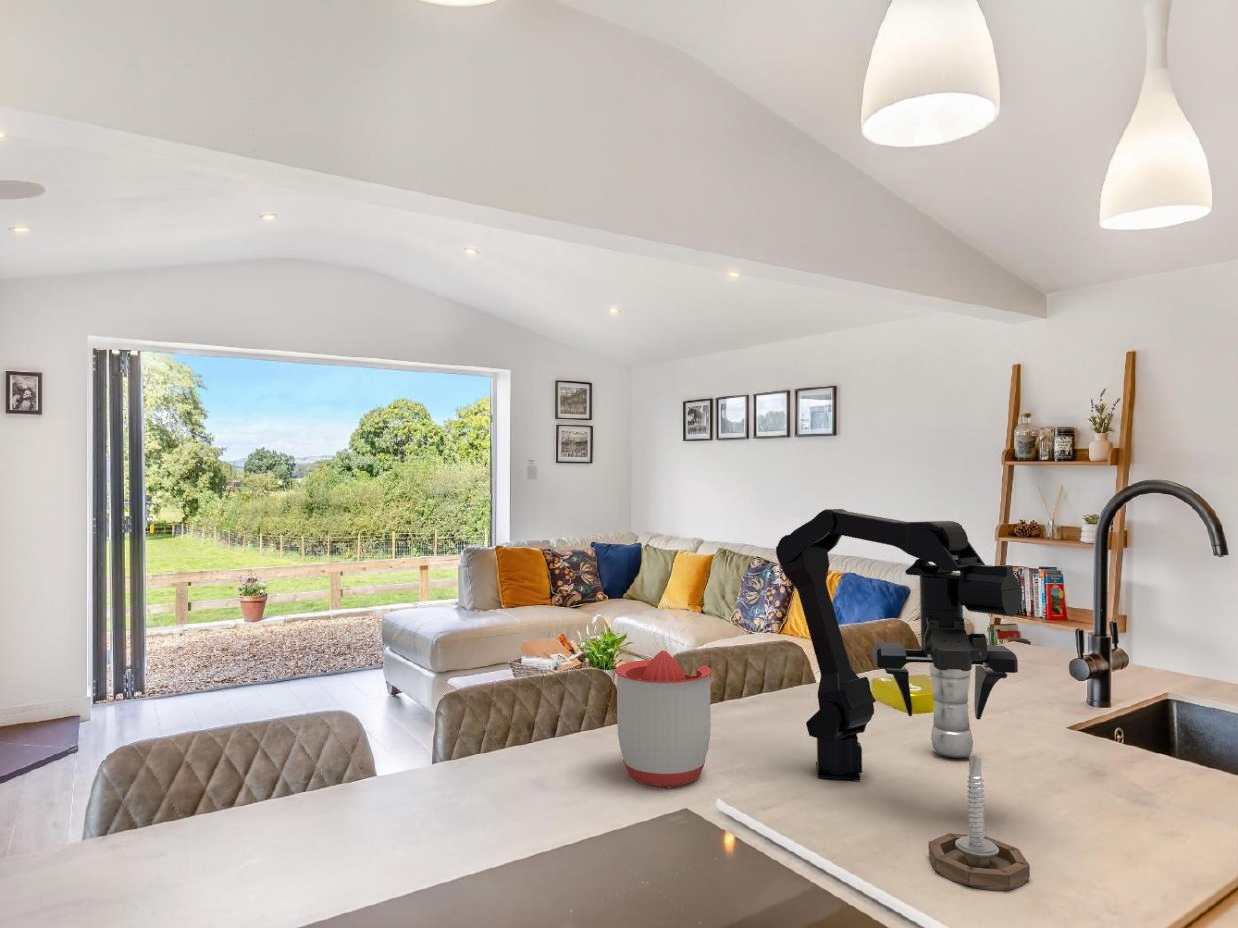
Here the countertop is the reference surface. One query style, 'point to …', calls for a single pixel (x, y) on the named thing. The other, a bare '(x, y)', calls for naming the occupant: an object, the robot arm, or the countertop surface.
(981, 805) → the screw
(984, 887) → the brown wooden tray
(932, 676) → the plastic bottle
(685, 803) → the countertop surface
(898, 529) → the robot arm
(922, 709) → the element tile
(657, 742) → the citrus juicer
